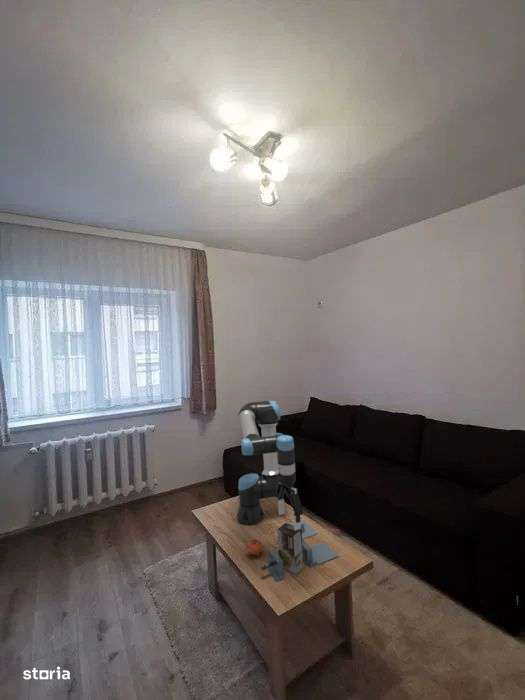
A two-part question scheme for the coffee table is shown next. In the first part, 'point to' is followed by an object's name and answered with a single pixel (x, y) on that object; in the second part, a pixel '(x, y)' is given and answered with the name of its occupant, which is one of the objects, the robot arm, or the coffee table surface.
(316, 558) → the pad
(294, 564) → the coffee box
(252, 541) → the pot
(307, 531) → the shower valve
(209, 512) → the coffee table surface
